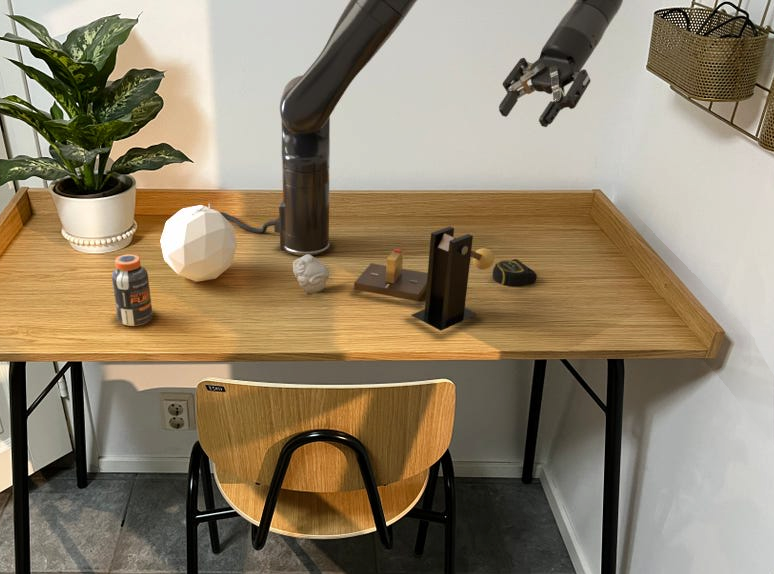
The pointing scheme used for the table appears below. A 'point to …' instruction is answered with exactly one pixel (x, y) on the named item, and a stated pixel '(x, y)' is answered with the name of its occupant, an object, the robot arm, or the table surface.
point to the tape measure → (513, 273)
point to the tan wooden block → (394, 266)
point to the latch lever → (472, 253)
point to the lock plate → (404, 287)
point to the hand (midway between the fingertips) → (521, 118)
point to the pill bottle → (131, 291)
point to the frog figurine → (310, 274)
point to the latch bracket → (447, 281)
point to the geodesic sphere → (198, 243)
